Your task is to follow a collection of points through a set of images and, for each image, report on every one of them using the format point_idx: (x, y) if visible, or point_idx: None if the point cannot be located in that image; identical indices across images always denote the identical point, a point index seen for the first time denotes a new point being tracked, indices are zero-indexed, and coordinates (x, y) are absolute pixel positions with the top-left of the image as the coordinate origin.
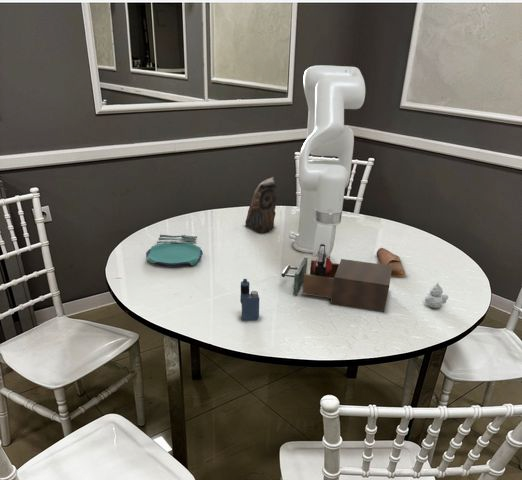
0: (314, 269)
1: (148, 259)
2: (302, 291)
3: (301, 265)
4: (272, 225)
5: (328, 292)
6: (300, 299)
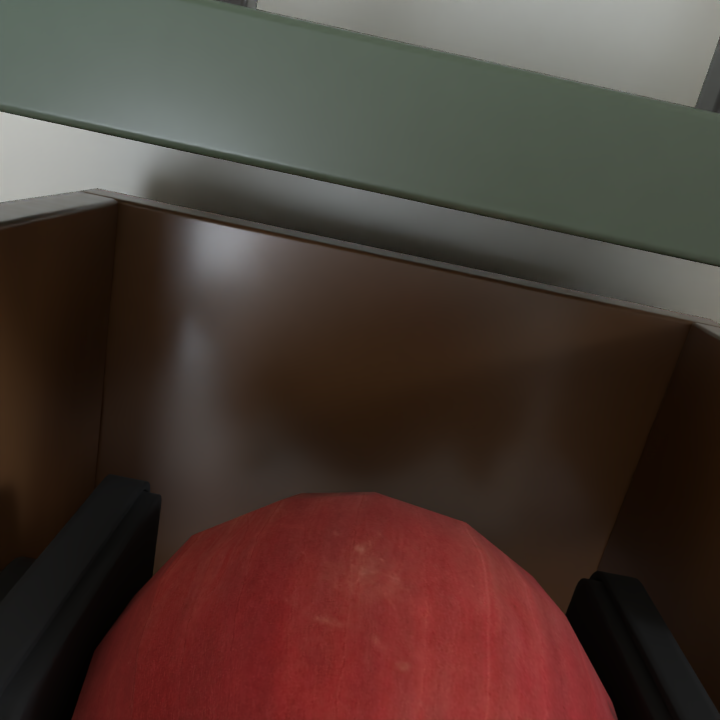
0: (197, 548)
1: None
2: (79, 192)
3: (483, 140)
4: None
5: None
6: (56, 163)
